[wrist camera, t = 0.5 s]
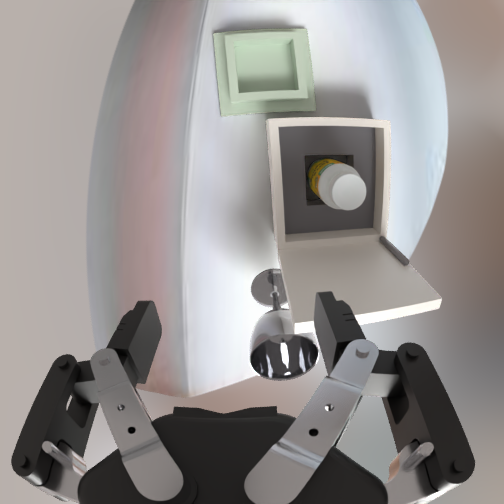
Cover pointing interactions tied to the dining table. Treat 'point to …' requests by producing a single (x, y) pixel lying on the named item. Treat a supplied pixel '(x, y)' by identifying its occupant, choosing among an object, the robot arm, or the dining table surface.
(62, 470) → the robot arm
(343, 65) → the dining table surface
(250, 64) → the sage holder
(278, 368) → the wine glass
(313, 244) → the case
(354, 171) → the supplement bottle
